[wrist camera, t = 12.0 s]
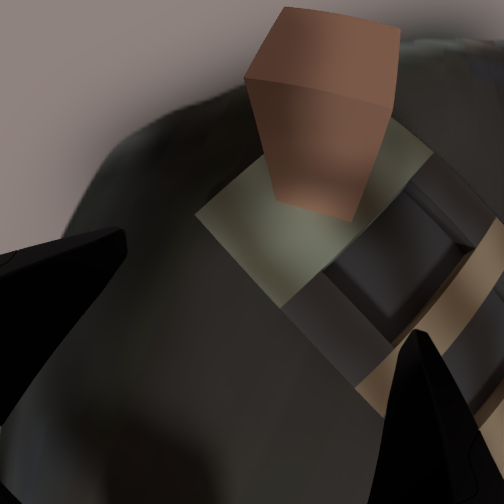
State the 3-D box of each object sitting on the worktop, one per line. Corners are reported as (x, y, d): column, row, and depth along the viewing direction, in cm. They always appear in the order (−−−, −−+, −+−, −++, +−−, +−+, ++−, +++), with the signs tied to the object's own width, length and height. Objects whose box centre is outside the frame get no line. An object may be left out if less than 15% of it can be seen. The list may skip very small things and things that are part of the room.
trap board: (473, 508, 12) (483, 518, 10) (204, 225, 21) (194, 214, 19) (577, 370, 13) (591, 370, 11) (346, 103, 21) (348, 86, 19)
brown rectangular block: (351, 222, 17) (392, 109, 8) (275, 200, 18) (243, 77, 9) (367, 157, 18) (400, 28, 8) (297, 138, 19) (284, 6, 9)
